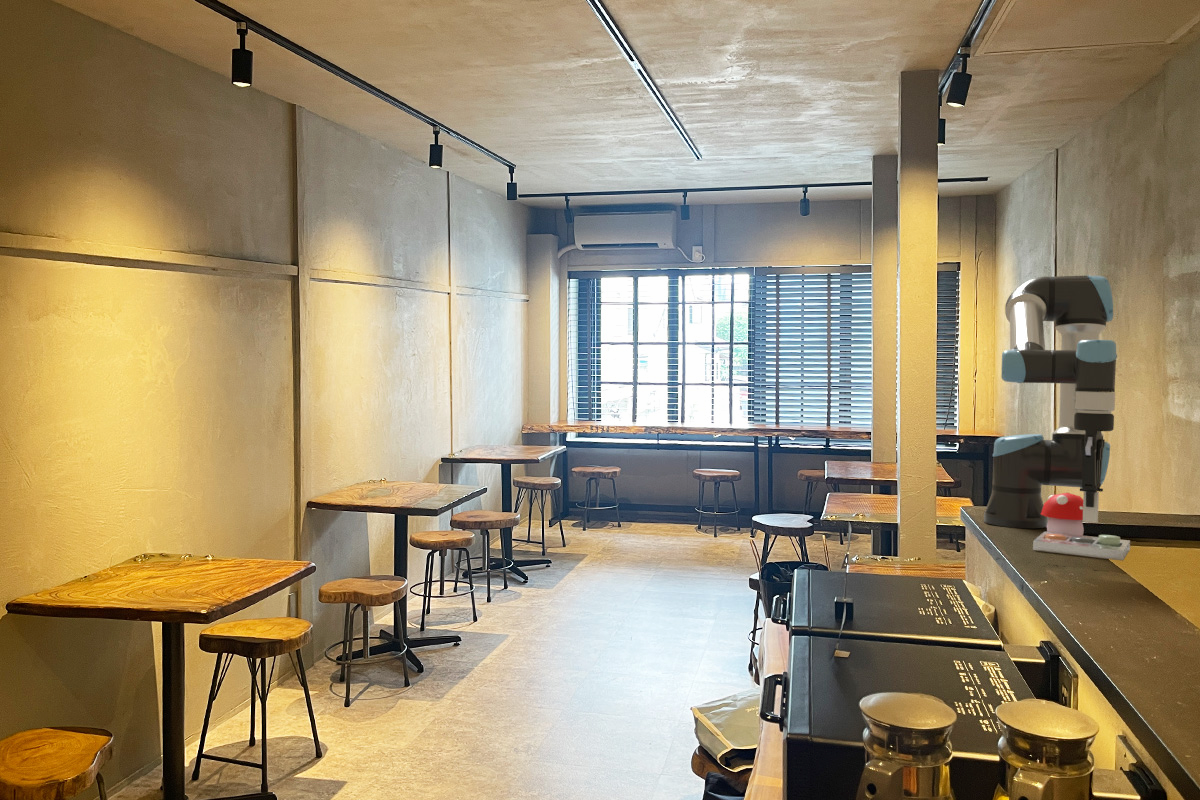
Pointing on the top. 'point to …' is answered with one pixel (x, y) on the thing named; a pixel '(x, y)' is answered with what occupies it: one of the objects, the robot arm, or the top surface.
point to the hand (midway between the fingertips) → (1090, 521)
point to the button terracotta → (1055, 536)
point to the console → (1081, 547)
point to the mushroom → (1064, 514)
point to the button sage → (1109, 540)
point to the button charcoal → (1082, 539)
